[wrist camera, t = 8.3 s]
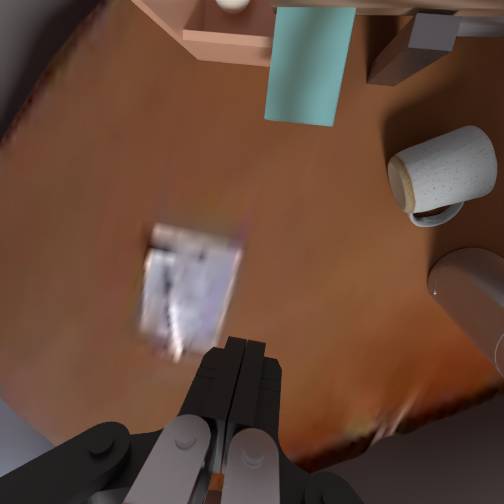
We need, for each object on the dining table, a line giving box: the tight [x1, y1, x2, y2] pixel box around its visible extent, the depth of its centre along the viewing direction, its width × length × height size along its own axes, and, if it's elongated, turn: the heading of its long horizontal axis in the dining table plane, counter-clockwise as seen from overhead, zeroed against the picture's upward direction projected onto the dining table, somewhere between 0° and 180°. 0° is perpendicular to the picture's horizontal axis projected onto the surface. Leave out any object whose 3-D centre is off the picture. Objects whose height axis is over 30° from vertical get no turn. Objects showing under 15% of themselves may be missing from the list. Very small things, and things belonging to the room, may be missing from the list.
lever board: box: [264, 0, 504, 127], centre depth 23 cm, size 20×16×10 cm
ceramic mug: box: [388, 125, 497, 227], centre depth 31 cm, size 11×8×8 cm
